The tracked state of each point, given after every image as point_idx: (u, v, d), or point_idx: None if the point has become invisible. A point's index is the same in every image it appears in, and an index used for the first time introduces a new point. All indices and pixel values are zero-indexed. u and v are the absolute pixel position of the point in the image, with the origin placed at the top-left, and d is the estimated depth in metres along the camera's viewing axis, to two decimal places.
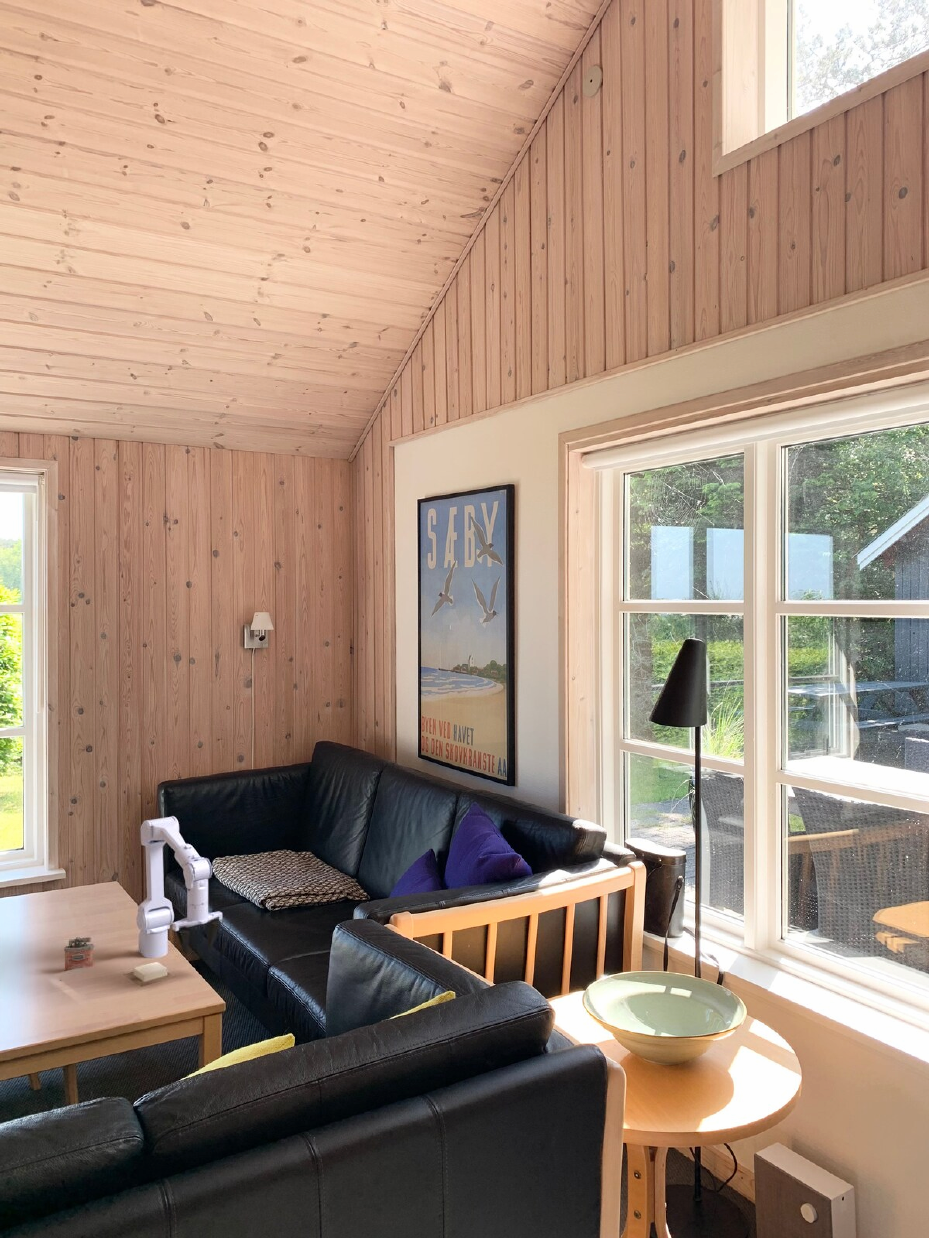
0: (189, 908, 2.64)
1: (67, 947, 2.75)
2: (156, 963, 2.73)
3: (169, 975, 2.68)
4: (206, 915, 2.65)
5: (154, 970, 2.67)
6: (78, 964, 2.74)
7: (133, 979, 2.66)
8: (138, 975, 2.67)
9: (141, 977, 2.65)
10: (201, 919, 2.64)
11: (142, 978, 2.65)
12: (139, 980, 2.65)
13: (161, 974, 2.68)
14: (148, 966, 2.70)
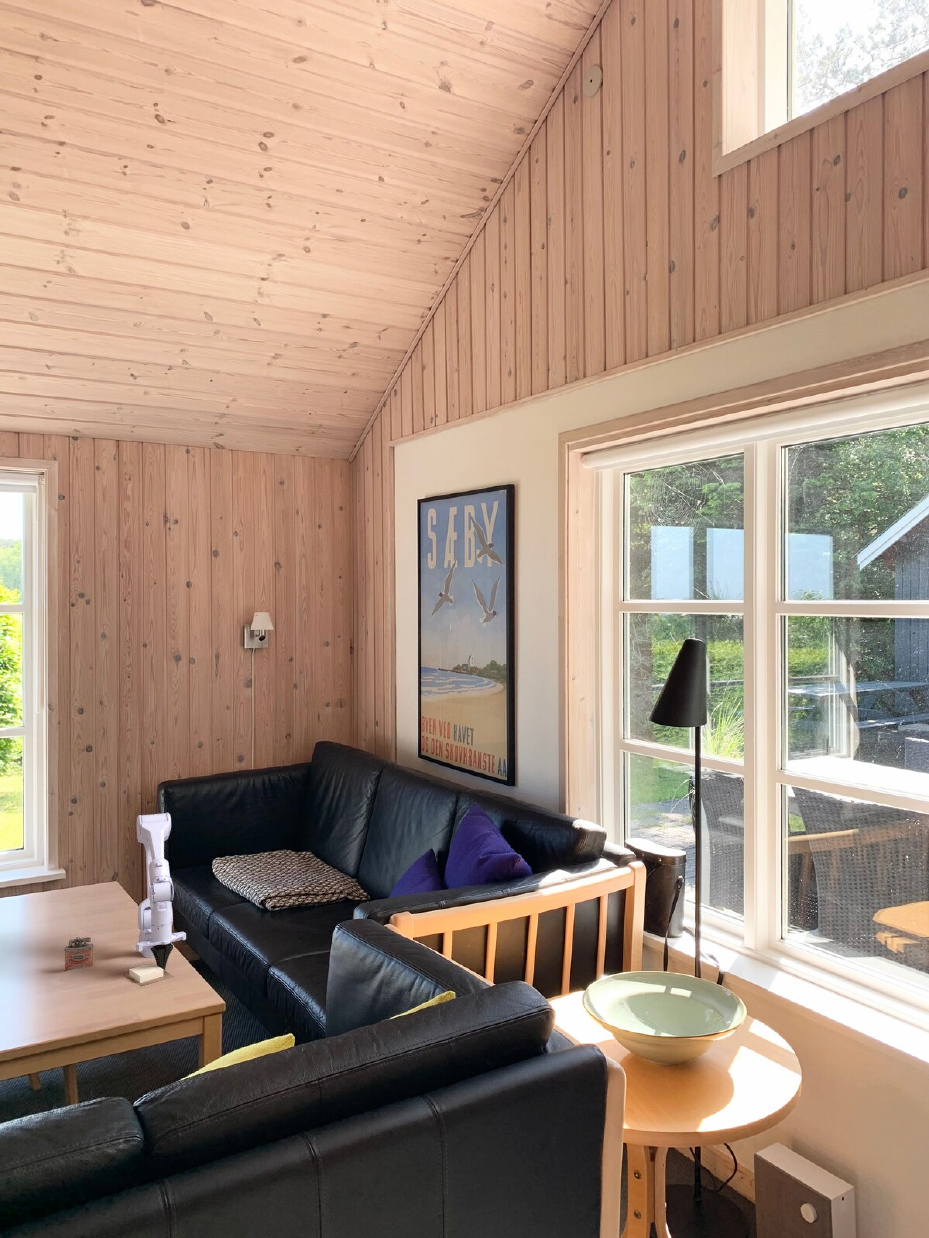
0: (152, 929, 2.69)
1: (67, 947, 2.75)
2: (152, 964, 2.72)
3: (169, 975, 2.68)
4: (169, 936, 2.71)
5: (150, 971, 2.66)
6: (78, 964, 2.74)
7: (133, 979, 2.66)
8: (134, 976, 2.66)
9: (137, 978, 2.65)
10: (164, 940, 2.69)
11: (138, 979, 2.64)
12: None
13: (157, 975, 2.67)
14: (144, 967, 2.69)
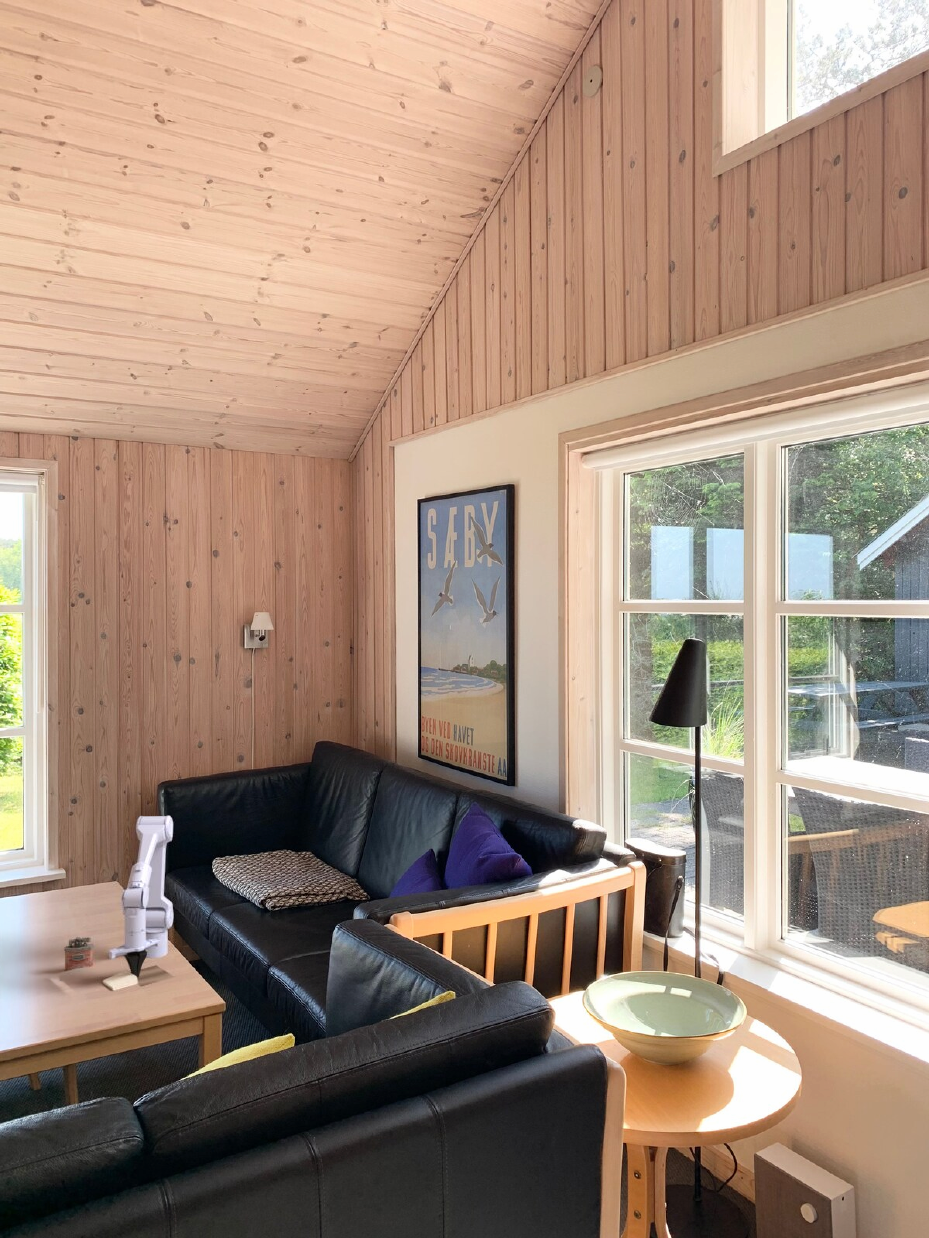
0: (126, 935, 2.64)
1: (67, 947, 2.75)
2: (126, 972, 2.66)
3: (169, 975, 2.68)
4: (143, 942, 2.65)
5: (123, 981, 2.61)
6: (78, 964, 2.74)
7: None
8: None
9: None
10: (138, 946, 2.64)
11: None
12: (139, 980, 2.65)
13: (131, 983, 2.62)
14: (117, 976, 2.64)
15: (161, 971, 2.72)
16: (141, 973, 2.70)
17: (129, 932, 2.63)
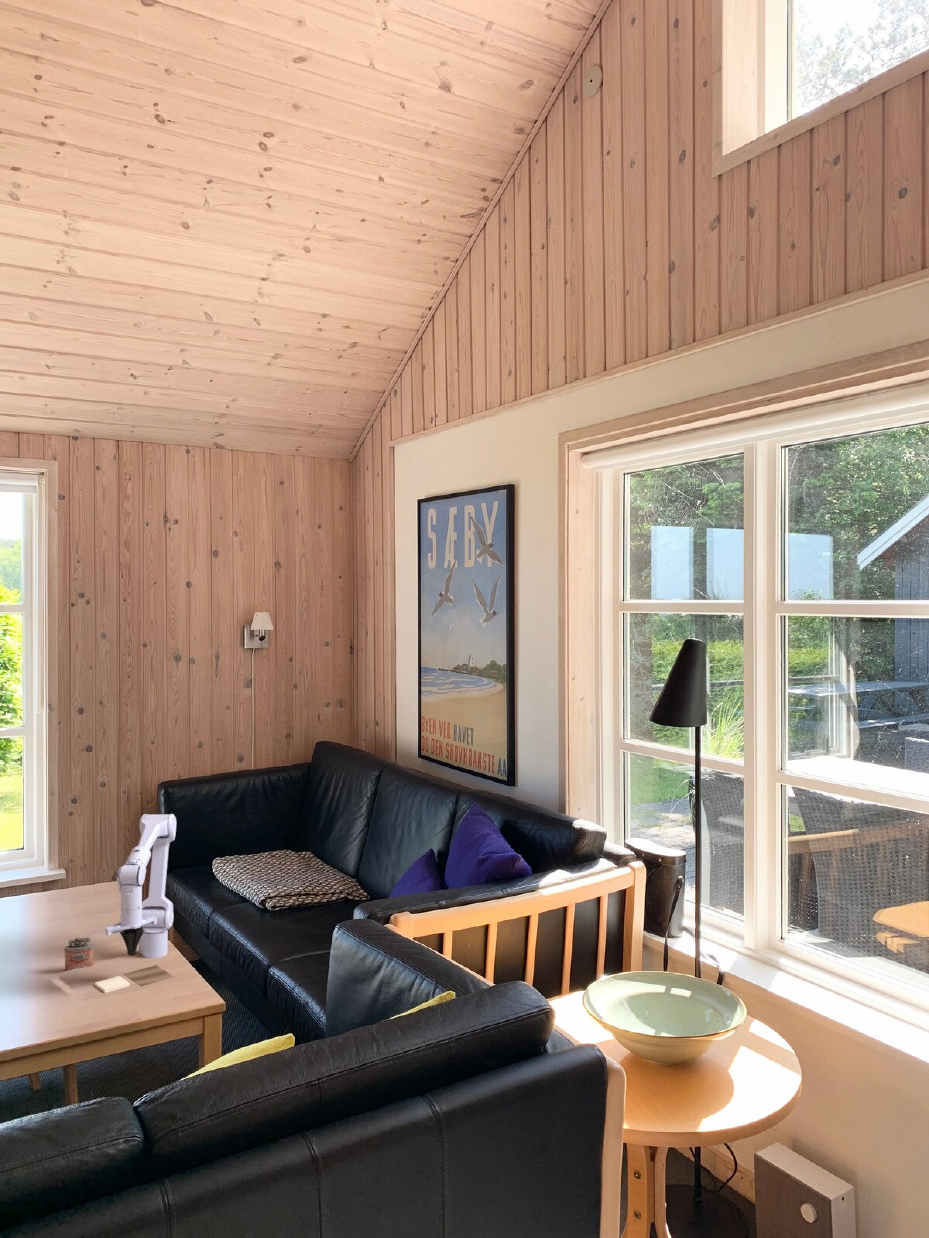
0: (122, 913, 2.63)
1: (67, 947, 2.75)
2: (118, 977, 2.65)
3: (169, 975, 2.68)
4: (140, 920, 2.64)
5: (116, 985, 2.60)
6: (78, 964, 2.74)
7: (133, 979, 2.66)
8: None
9: None
10: (134, 924, 2.63)
11: None
12: (139, 980, 2.65)
13: None
14: (110, 981, 2.63)
15: (161, 971, 2.72)
16: (141, 973, 2.70)
17: (125, 909, 2.62)
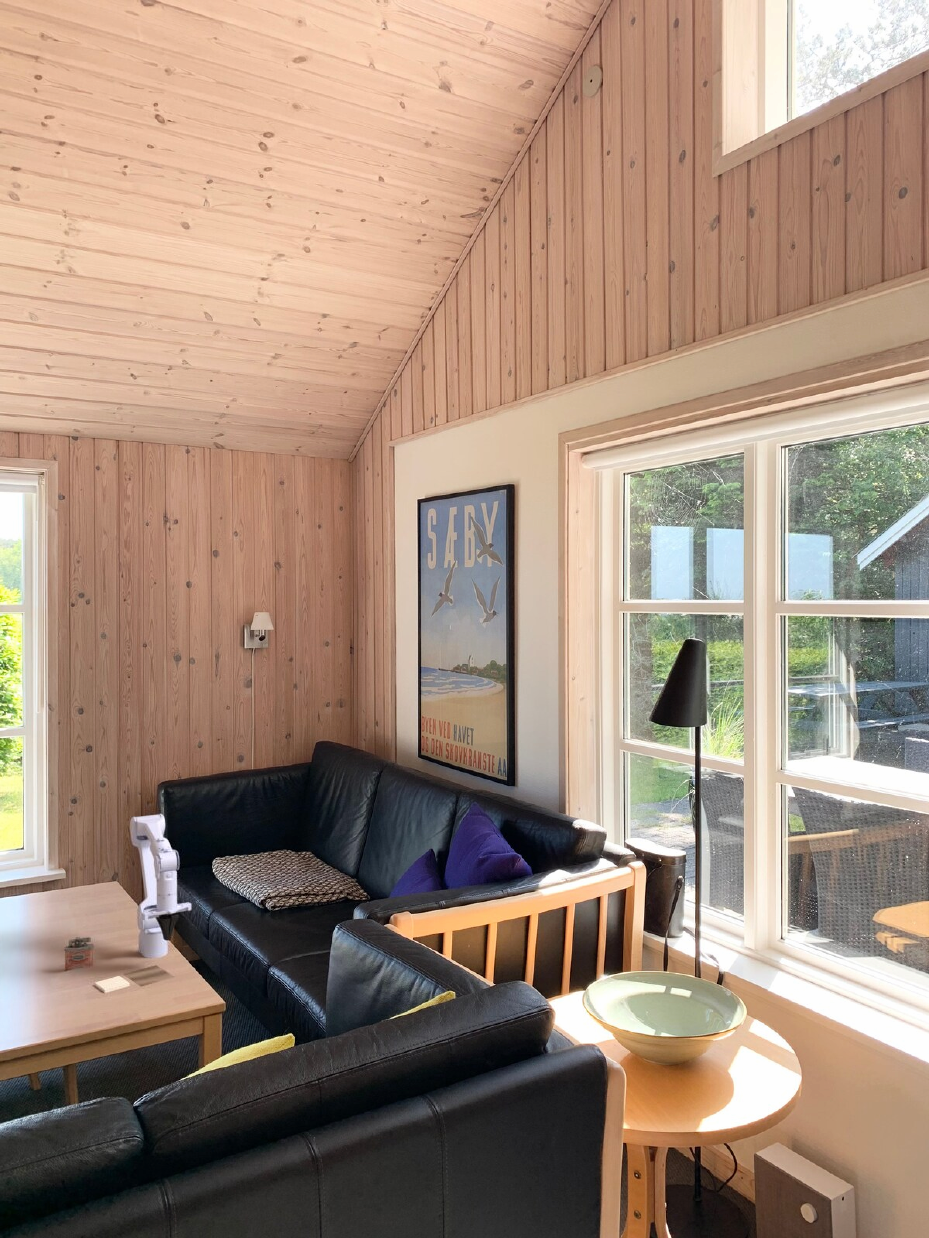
0: (158, 898, 2.71)
1: (67, 947, 2.75)
2: (118, 977, 2.65)
3: (169, 975, 2.68)
4: (175, 905, 2.72)
5: (116, 985, 2.60)
6: (78, 964, 2.74)
7: (133, 979, 2.66)
8: None
9: None
10: (170, 909, 2.71)
11: None
12: (139, 980, 2.65)
13: None
14: (110, 981, 2.63)
15: (161, 971, 2.72)
16: (141, 973, 2.70)
17: (161, 895, 2.70)
